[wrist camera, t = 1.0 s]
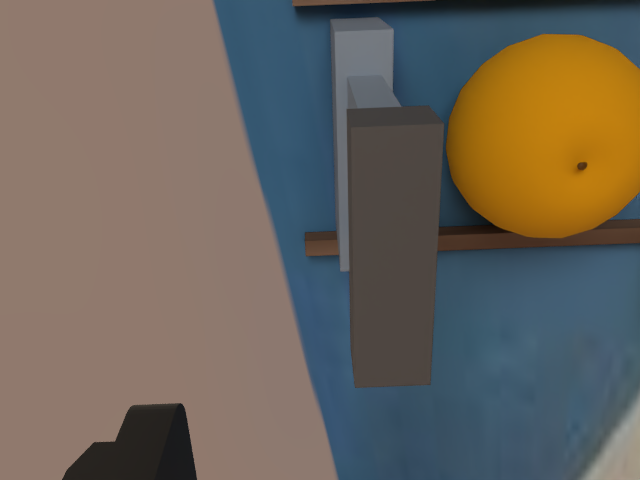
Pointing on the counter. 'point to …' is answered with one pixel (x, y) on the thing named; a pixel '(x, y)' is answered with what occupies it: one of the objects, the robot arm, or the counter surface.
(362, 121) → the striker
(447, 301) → the counter surface
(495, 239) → the rails
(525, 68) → the orange
